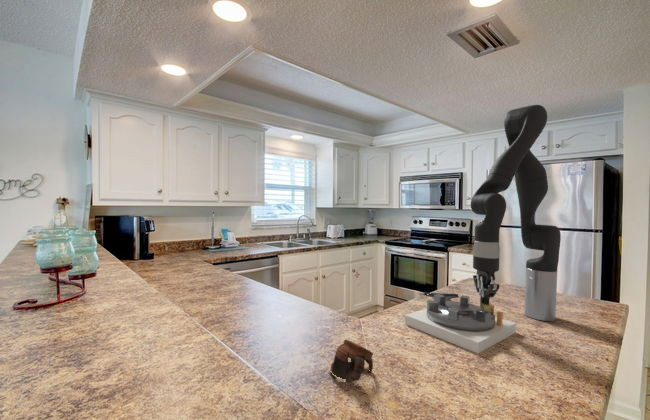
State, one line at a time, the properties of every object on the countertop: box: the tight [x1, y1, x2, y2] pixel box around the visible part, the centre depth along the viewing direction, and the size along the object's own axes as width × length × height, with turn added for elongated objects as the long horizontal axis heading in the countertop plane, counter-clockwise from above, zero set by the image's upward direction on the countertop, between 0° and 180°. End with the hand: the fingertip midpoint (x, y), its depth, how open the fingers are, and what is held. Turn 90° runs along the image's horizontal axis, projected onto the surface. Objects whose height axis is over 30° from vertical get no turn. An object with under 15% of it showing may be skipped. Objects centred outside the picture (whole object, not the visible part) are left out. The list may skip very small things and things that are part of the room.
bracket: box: [422, 292, 459, 301], centre depth 127 cm, size 14×15×3 cm
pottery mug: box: [330, 339, 374, 382], centre depth 70 cm, size 12×10×8 cm
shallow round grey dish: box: [426, 294, 496, 331], centre depth 98 cm, size 20×20×5 cm
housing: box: [404, 307, 517, 354], centre depth 98 cm, size 24×24×7 cm
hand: (484, 308), depth 99 cm, fingers closed
